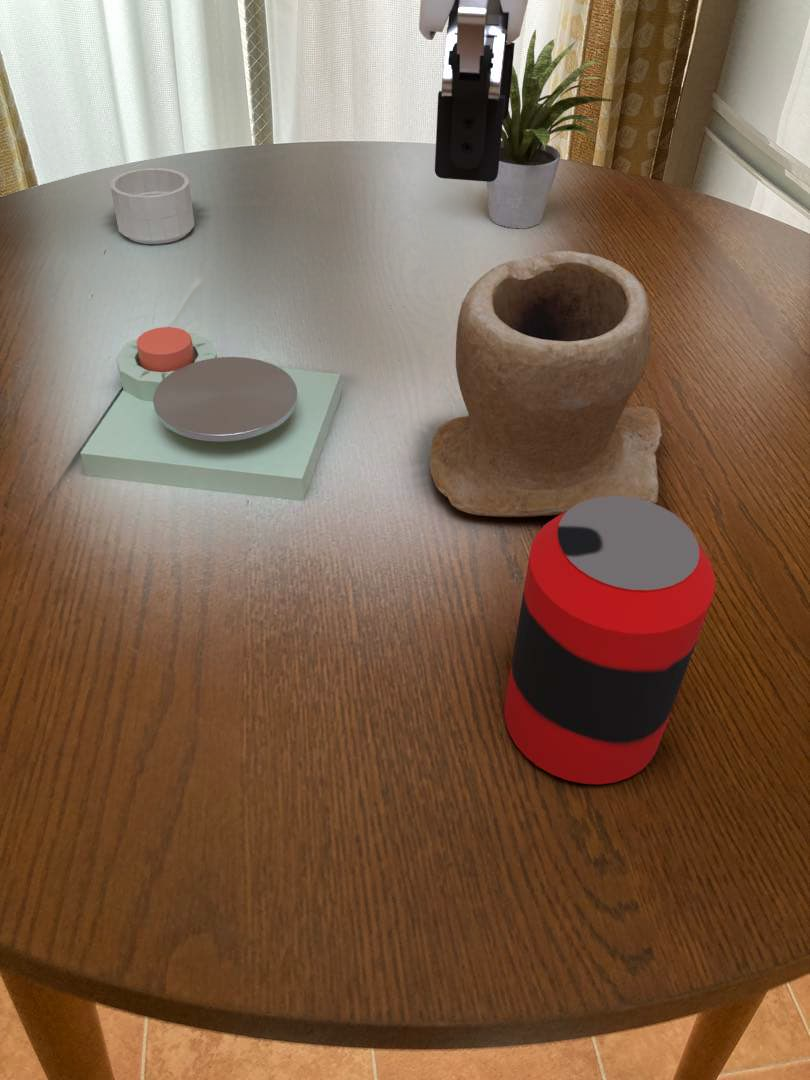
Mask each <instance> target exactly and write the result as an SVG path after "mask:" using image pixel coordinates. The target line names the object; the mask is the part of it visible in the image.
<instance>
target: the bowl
mask: <svg viewBox="0 0 810 1080" xmlns="http://www.w3.org/2000/svg"><path fill="white" fill-rule="evenodd" d="M110 191H111V197H112V203H113V207H114V213H115V219H116V223H117V229H118V232H119V233H120V234H122V235H123V236H124V237H126V238H127V239H128V240H130V241H132V242H135V243H138V244H143V245H144V244H145V245H164V244H169V243H173V242H176V241H179V240H181V239H184V238H185V237H186V236H187V235H188V234H189V233H191V231H192V229H193V228H194V227H195V218H194V217H195V216H194V211H193V210H194V209H193V203H192V202H193V201H192V194H191V187H190V180H189V177H188V176H187V175H186V174H185V173H183V172H181V171H179V170H175V169H171V168H163V167H161V168H160V167H149V168H148V167H147V168H145V167H144V168H138V169H133V170H129V171H125V172H123V173H120V174H118V175H116V176H115V177H114V178H113V179H112V180H111V181H110Z"/></svg>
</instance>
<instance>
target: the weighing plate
mask: <svg viewBox="0 0 810 1080" xmlns="http://www.w3.org/2000/svg"><path fill="white" fill-rule="evenodd" d="M281 368H282V367H279V366H277V365H275V364H273V363H270V362H267V361H264V360H262V359H261V360H260V359H257V358H252V357H251V358H250V357H242V356H221V357H217V358H212V359H206V360H201V361H198V362H194V363H191V364H189V365H186V366H184V367H181V368H179V369H177V370H176V371H174V372H172V373H171V374H169V375H168V376H167V377H165V378H164V379H163V380H162V381H161V383H160V384H159V385H158V386H157V388H156V390H155V393H154V397H153V404H154V409H155V413H156V415H157V417H158V419H159V420H160V421H161V422H162V423H163V424H164V425H165V426H166V427H167V428H169V429H170V430H172V431H173V432H176V433H178V434H180V435H183V436H185V437H189V438H193V439H197V440H204V441H235V440H242V439H247V438H251V437H255V436H258V435H261V434H263V433H266V432H268V431H270V430H272V429H274V428H276V427H278V426H279V425H280V424H282V423H283V422H284V421H285V420H287V419H288V418H289V417H290V415H291V414H292V413H293V411H294V409H295V407H296V404H297V388H296V385H295V382H294V381H293V379H292V378H291V377H290V376H289V375H288V374H287V373H286V372H285V371H284V370H282V369H281Z"/></svg>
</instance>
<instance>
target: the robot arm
mask: <svg viewBox="0 0 810 1080" xmlns="http://www.w3.org/2000/svg"><path fill="white" fill-rule="evenodd" d="M528 2H529V0H420V6H419V17H418V18H419V21H418V30H419V33H420V34H421V35H422V36H423V37H424V38H425V39H426V41H427V40H429V41H433V40H434V38H435V36H436V33H443V31H444V30H445V26H446V24H447V27H446V39H445V51H444V59H443V69H442V79H441V90H439V91H438V93H437V108H436V109H437V111H436V112H437V113H436V131H435V133H436V134H435V153H434V154H435V157H434V174H435V175H436V176H437V178H439V179H444V180H445V179H447V180H458V181H459V180H460V181H473V182H485V183H487V182H492V181H494V180H495V179H496V178H497V175H498V169H499V158H500V147H501V140H502V138H501V136H502V129H503V119H505V118H506V117H507V115H508V110H509V109H510V88H511V78H512V67H514V55H515V44H516V43H515V41H516V40H517V39H518V38H520V36H521V33H522V27H523V23H524V19H525V14H526V12H527V11H526V10H527V6H528ZM447 21H448V22H447Z"/></svg>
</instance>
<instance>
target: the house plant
mask: <svg viewBox="0 0 810 1080" xmlns="http://www.w3.org/2000/svg"><path fill="white" fill-rule="evenodd" d="M537 29H538V27H537V28H535V30H534V31H533V33H532V35H531V38H530V40H529V45H528V48H527V53H526V59H525V66H524V72H523V79H522V87H521V93H520V85H519V80H518V75H517V72H516V69H515V67H514V66H513V67H512V78H511V88H510V99H509V104H510V110H511V113H510V111H509V110H508V115H507V117H506V118H505V119H503V125H502V136H501V147H500V158H499V169H498V175H497V178H496V179H495V180H494V181H492V182H486V192H487V193H486V195H487V207H488V208H487V209H488V218H489V217H490V218H489V220H490V219H491V220H492V221H491V220H490V221H491V222H492V223H494V222H495V223H494V224H496V225H498V226H501V225H502V226H501V227H504V226H505V228H508V227H509V229H517V228H519V229H530V228H533V226H534V227H536V226H538V225H539V224H540V223H541V222H542V220H543V217H544V214H545V210H546V207H547V204H548V200H549V197H550V194H551V191H552V187H553V183H554V180H555V177H556V173H557V170H558V167H559V163H560V162H561V161H560V160H561V152H560V151H559V150H558V149H557V148H555V146H552V145H549V143H550V142H551V141H552V140H553V139H554V138H556V137H557V136H558V135H560V134H561V133H562V132H570V131H573V132H583V133H585V134H587V135H590V137H591V138H593V136H592V134H591V132H590V131H589V130H588V128H587V126H585V125H582V124H578V122H581V121H583V122H587V123H590V124H591V125H593V126H594V127H595V128H596V129H597V130H599V128H598V127H597V125H596V123H595V122H594V121H597V122H598V121H599V120H598V119H594V118H591V117H588V116H586V115H582V114H569V115H566V116H564V117H561V116H562V115H563V113H565V112H567V111H568V110H570V109H571V108H574V107H577V106H581V105H587V104H590V103H596V102H608V103H609V102H610V103H611V102H618V100H617V99H612V98H606V97H601V96H593V95H592V96H590V95H581V96H579V95H578V96H569V97H566V98H562V99H560V98H559V97H562V96H563V95H564V94H566V93H567V92H570V91H571V90H574V89H577V88H583V89H591V87H590V86H586V85H584V84H576V85H574V86H571V84H573V83H575V82H579V81H583V80H599V79H604V80H605V79H607V77H599V76H587V77H586V76H585V77H581V78H579V77H580V75H581V74H582V73H583V72H584V71H585V70H586V69H588V68H589V67H591V66H593V65H594V64H596V63H598V62H601V61H602V60H605V59H607V58H606V57H605V58H597V59H593V60H591V61H588V62H586V63H584V64H581V65H580V66H579V67H577V68H576V69H575V70H574V71H573V72H571V73H570V74H569V75H568V76H567V77H566V78H565V79H564V80H563V81H562V82H561V83H559V84H558V85H557V87H556V88H555V90H553V91H552V93H551V94H548V95H547V94H546V95H544V96H542V93H543V89H544V87H545V85H546V84H547V82H548V80H549V79H550V77H551V76H552V74H553V72H554V71H555V69H556V68H557V66H558V65H559V64H560V63H561V60H563V58H564V57H565V56H566V55H567V54H568V53H569V52H570V51H571V49H572V48H573V47H574V45H575V44H576V43H577V42H578V40H577V41H575V42H573V43H572V44H570V45H569V46H568V47H566V48H565V49H564V50H562V51H561V53H559V54H558V55H557V56H556V57H555V58H554V59H553V58H552V54H553V50H554V47H555V40H556V38H554V39H552V40H550V41H549V42H548V43H546V44H545V45H544V47H542V49H541V51H540V53H539V55H538V56H537V58H536V60H535V46H536V39H537ZM569 86H571V87H569ZM568 87H569V88H568ZM567 88H568V89H567ZM542 101H543V102H542ZM539 102H542V103H539ZM560 117H561V118H560ZM559 118H560V119H559ZM569 120H575V121H574V122H573V123H568V124H564V125H560V124H562V123H563V122H566V121H569ZM559 125H560V126H559ZM558 132H559V133H558ZM554 133H558V134H556V135H555V136H554V137H552V138H551V135H552V134H554ZM537 224H538V225H537ZM535 225H536V226H535ZM529 227H530V228H529Z"/></svg>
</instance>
